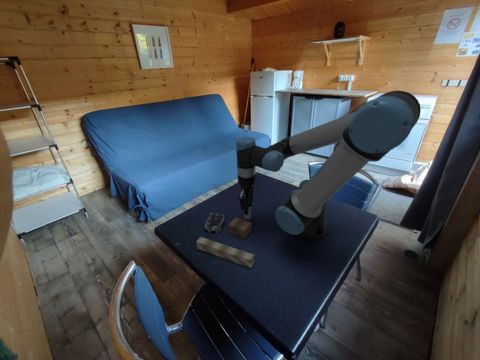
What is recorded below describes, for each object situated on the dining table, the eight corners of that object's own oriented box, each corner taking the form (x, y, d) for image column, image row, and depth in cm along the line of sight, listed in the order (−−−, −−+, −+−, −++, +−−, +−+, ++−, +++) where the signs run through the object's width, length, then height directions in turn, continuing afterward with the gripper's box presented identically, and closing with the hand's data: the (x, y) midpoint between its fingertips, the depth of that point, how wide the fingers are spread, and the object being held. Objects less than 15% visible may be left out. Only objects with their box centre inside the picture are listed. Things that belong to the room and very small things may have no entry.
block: (251, 231, 101) (251, 222, 98) (244, 239, 97) (244, 230, 94) (236, 225, 105) (236, 216, 102) (229, 232, 101) (228, 224, 98)
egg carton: (220, 234, 100) (219, 227, 98) (204, 232, 102) (203, 225, 100) (226, 219, 109) (225, 212, 107) (211, 217, 111) (210, 210, 109)
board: (254, 262, 86) (254, 254, 84) (251, 268, 83) (251, 260, 82) (201, 243, 95) (200, 236, 93) (197, 248, 93) (196, 241, 91)
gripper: (244, 166, 101) (245, 208, 113) (231, 179, 91) (234, 224, 103) (260, 169, 98) (259, 212, 110) (248, 183, 88) (249, 229, 100)
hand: (247, 218), depth 106 cm, fingers closed
